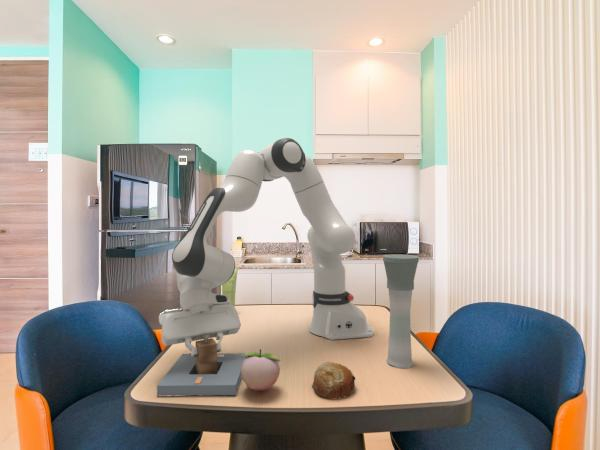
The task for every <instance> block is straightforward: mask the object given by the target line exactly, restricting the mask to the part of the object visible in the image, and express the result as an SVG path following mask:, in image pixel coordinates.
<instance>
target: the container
mask: <svg viewBox="0 0 600 450" xmlns="http://www.w3.org/2000/svg"><path fill="white" fill-rule="evenodd" d="M419 258H420V257H419V256H418V255H412V254H398V253H397V254H394V253H393V254H384V255H382V262H383V264H384V271H385V275H386V280H387V281H386V288H387V289H388V296H389V297H388V300H389V329H388V330H389V332H388V345H387V358H386V364H387V365H388V366H390V367H393V368H396V369H409V368H412V367H413V365H414V362H413V358H412V356H413V355H412V333H411V332H412V331H411V306H412V295H413V290H414V289H415V276H416V272H417V268H418V263H419V261H420V259H419Z"/></svg>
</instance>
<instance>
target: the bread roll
mask: <svg viewBox="0 0 600 450" xmlns="http://www.w3.org/2000/svg"><path fill="white" fill-rule="evenodd" d="M355 380H356V376H355V375H354V374H353V372H352V371H351V370H350V369H349V368H348V367H347V366H345V365H342V364H341V363H338V362H331V361H326V362H322V364H320V365H319V366H318V367H317V368H316V370H315V371H314V375H313V383H312V385H311V387H312V388H313V390H314V391H315V393H316V394H317V395H318V396H319V397H321V396H322V397H321V398H323V397H325V398H324V399H329V398H337V399H340V398H339V397H342V398H345V397H344V396H346V397H348V396H350V395H351V394H352V393H353V392H354V389H355ZM349 394H350V395H349Z"/></svg>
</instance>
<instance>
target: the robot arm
mask: <svg viewBox="0 0 600 450" xmlns="http://www.w3.org/2000/svg"><path fill="white" fill-rule="evenodd" d="M281 178H285V179H286V180H287V181H288V182H289V184H290V187H291V189H292V191H293V194H294V196H295V198H296V202H297V203H298V206H299V208H300V211H301V212H302V214H303V216H304V217H305V218H306V219H307V221H308V222H309V224H310V228H309V229H308V231H307V241H308V243H309V246H310V253H311V259H312V265H313V283H314V284H313V291H312V307H313V310H312V317H311V323H310V327H309V331H310V333H312V334H313V335H316V336H320V337H322V338H326V339H327V340H330V341H331V340H332V341H333V340H343V339H345V340H347V339H357V338H358V339H359V338H370V337H373V336H374V329H373V327H372V325H370V324H369V323H368V322H367V318H366V314H365V313H364V311H362V309H360V308H359V307H358V306H357V305H355V304H354V303H353V301H354V295H353V294H351V293H350V292H348V291H347V290H346V268H345V266H344V264H343V261H342V258H341V254H347V253H348V252H350V251H351V250H352V249H353V247H354V246H355V243H356V234H355V232H354V230H353V229H352V228H351V227H350V226H349V225H348V223H346V221H345V220H344V218H343V216H342V215H341V213H340V211H339V210H338V209H337V207H336V206H335V204H334V202H333V200H332V198H331V196H330V193H329V191H328V189H327V187H326V184H325V182H324V179H323V176H322V174H321V172H320V171H319V169H318V167H317V166H316V164H315V161H313V159H312V158H311V157H310V156H308V155H306V154H305V152H304V150H303V148H302V146H301V145H300V143H298V141H297V140H295V139H293V138H289V137H284V138H280V139H276V141H275V142H272V143H270V144H268V145H266V146H265V147H264V148H263V149H261V150H259V151H258V152H257V151H254V150H253V149H252V150H251V149H243V150H241V151H239V152H238V153H237V154H236V156H235V157H234V159H233V160H232V161H231V164H230V166H229V168H228V170H227V172H226V175H225V178H224V180H223V182H222V183H221V185H220V186H219V187H216V188H214V189H212V190H211V191H210V192H209V193H208V194H207V195H206V197H205V199H204V200H203V202H202V203H201V205H200V206H199V209H198V211H197V212H196V214H195V217H194V218H193V219H192V222H191V223H190V225H189V226H188V228H187V231H186V232H185V234H184V235H183V236H182V238H181V239H180V240H179V242H178V243H177V244H176V246H175V247H174V248H173V251H172V253H171V254H172V255H171V260H172V265H173V268H174V269H175V272H176V273H175V275H176V276H175V277H176V285H177V289H178V291H179V294H180V295H179V303H180V307H179V308H172V309H165V310H163V312H160V313H159V315H158V324H159V325H160V326H161V344H163V345H164V346H166V347H167V346H172V345H177V344H184V347H185V348H187V350H188V351H189V352H190V354H191V356H192V357H196V356H198V347H196V346H194V345H193V344H192V342H196V341H200V340H204V336H202V334H203V333H209V332H210V335H209V339H212V338H213V339H214V338H215V341H217V342H216V343H217V353H221V352H222V344H221V343H222V340H223V339H224V338H223V337H224V336H228V335H236V334H238V332H239V331H240V329H241V326H242V323H241V320H240V317H239V314H238V311H237V309H236V306H235V307H234V306H233V305H231V304H230V303H231V298H230V297H229V296H226V295H222V294H218V293H214V292H212V290H213V289H216V288H218V287H220V286H222V284H224V283H225V282H227V281H228V280H229V279H230V278H231V277H232V276H233V274H234V270H235V268H236V262H235V258H234V256H233V254H231V253H229V252H227V251H225V250H222V249H220V248H217V247H215V246H213V245H211V244H208V242H207V239H208V236H209V234H210V233H211V230H212V229H213V228H214V225H215V223H216V221H217V219H218V217H219V216H220V215H221V214H222V213H224V212H231V213H232V212H234V213H235V212H236V213H239V212H240V213H242V212H246V211H248V210H250V209H251V208H252V207H253V206H255V204H256V202H257V200H258V197H259V194H260V191H261V188H262V183H263V182H272V181H274V180H277V179H281Z"/></svg>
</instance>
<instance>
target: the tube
mask: <svg viewBox="0 0 600 450" xmlns="http://www.w3.org/2000/svg"><path fill="white" fill-rule="evenodd" d="M238 271H239V267H235V270H234V274H233V276H232V277H231V278H230V279H229V280H228V281H227V282H225V283H224V284H222V285H221V295H226V296H229V297H230V298H231V303H230V304H231V305H233V306H234V307H235V308H236V290H237V276H238Z"/></svg>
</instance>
